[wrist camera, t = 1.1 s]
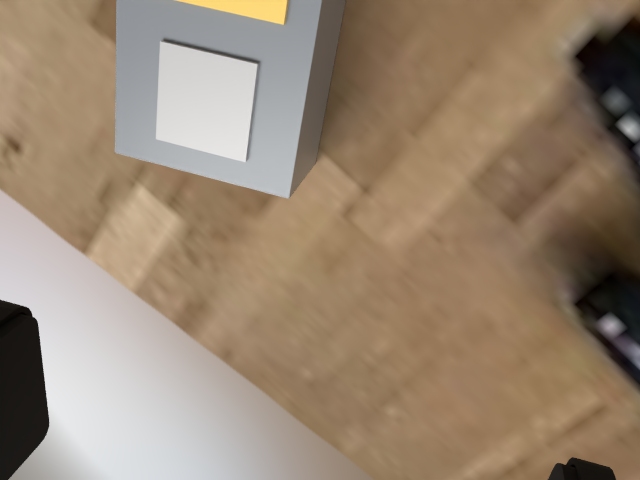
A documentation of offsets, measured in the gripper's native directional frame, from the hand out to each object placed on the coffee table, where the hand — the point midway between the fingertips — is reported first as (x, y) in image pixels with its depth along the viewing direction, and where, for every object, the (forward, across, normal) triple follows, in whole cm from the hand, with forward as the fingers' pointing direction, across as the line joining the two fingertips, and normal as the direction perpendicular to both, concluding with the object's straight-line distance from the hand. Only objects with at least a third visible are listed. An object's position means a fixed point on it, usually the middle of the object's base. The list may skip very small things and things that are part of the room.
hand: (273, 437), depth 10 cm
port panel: (+26, +10, -4) cm, 28 cm away
